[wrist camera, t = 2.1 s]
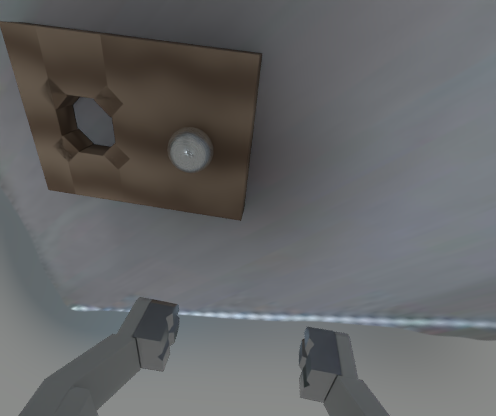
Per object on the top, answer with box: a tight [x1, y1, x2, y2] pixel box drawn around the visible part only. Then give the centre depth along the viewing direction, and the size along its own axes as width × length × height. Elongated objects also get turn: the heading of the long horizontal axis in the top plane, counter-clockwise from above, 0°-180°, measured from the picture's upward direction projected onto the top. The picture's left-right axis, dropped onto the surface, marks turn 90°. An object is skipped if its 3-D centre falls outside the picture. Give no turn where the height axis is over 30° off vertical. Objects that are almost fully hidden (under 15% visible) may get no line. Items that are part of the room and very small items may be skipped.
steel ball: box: [168, 127, 213, 173], centre depth 25 cm, size 4×4×4 cm
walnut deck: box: [0, 21, 262, 221], centre depth 29 cm, size 16×22×2 cm
